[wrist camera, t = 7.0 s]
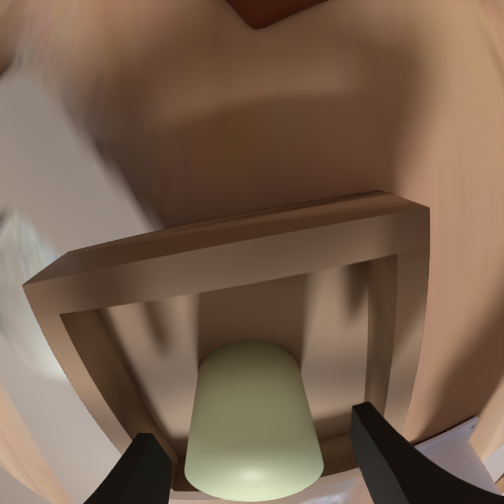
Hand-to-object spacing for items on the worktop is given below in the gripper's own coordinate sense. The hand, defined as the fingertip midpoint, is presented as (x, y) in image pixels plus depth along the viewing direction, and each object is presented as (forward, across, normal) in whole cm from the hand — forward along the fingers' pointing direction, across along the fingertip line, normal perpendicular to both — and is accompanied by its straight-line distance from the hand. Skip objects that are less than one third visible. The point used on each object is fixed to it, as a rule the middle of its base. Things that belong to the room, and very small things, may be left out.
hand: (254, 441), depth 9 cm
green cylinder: (+3, 0, 0) cm, 3 cm away
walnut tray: (+4, 0, 0) cm, 4 cm away
